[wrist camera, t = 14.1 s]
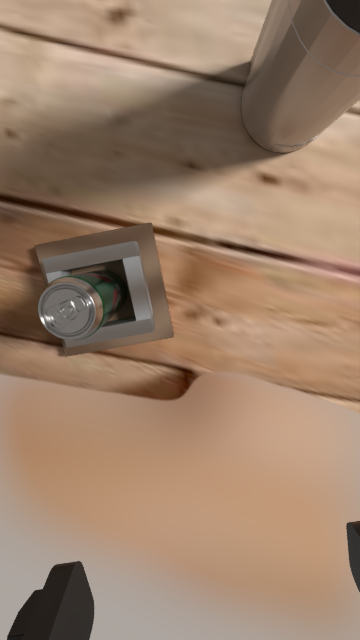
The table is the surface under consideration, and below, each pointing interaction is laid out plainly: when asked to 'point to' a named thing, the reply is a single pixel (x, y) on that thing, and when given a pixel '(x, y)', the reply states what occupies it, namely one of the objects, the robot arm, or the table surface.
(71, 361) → the table surface
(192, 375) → the table surface
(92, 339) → the grey hollow square frame
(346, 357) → the table surface
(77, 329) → the soda can
